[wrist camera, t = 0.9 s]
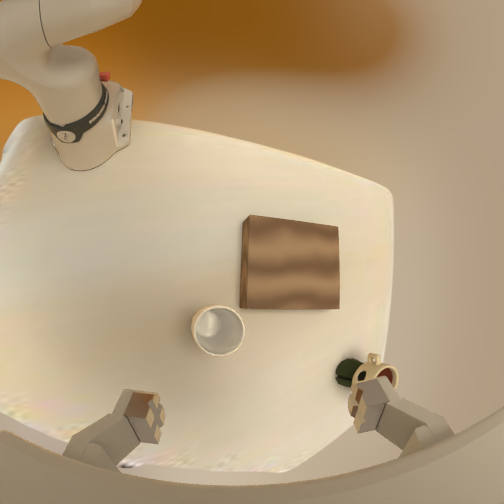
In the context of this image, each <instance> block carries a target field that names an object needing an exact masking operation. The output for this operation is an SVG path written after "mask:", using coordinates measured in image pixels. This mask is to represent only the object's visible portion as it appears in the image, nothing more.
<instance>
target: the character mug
mask: <svg viewBox="0 0 504 504" xmlns="http://www.w3.org/2000/svg"><path fill="white" fill-rule="evenodd" d="M373 358H374V359H375V362H374V361H373ZM336 374H338V375H340V378H341V379H339V378H337V381H338V383H339V384H341V385H343V386H346V387H351V386H352V383H353V382H358V381H362V380H367V379H372V378H376V377H381V376H386V377H387V378H388V380H389V381H390V383H391V384H392V386H393V388H394V389H395V390H396V388H397V385H398V379H399V375H398V371H397V370H396V368H395V367H393V366H391V365H389V364H384V363H381V358H380V355H378V354H373V353H369V354H368V362H366V363H362V362H360V361H358V360H355V359H347V360H345V361H343V362H342V363H341V364H340V365H339V366H338V369H337V372H336Z"/></svg>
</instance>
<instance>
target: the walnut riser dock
mask: <svg viewBox="0 0 504 504" xmlns="http://www.w3.org/2000/svg"><path fill="white" fill-rule="evenodd" d="M339 300H340V274H339V236H338V227H336V226H330V225H323V224H316V223H309V222H301V221H294V220H287V219H279V218H271V217H263V216H255V215H249V216H248V218H247V219H246V220H245V221H244V222H243V233H242V258H241V285H240V308H252V309H339Z"/></svg>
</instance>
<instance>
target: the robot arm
mask: <svg viewBox="0 0 504 504" xmlns="http://www.w3.org/2000/svg"><path fill="white" fill-rule="evenodd" d="M141 2H142V0H3V1H1V2H0V79H5V80H9V81H12V82H15V83H17V84H19V85H21V86H23V87H24V88H26V89H27V90H28V91H30V92H31V93H32V95H33V96H34V97H35V99H36V100H37V102H38V104H39V105H40V107H41V109H42V110H43V115H44V119H45V122H46V125H48V128H49V131H50V133H51V136H52V140H51V142H52V145H53V146H54V147H55V148H56V149H57V150H58V153H59V156H60V159H61V161H62V162H63V164H64V165H65V166H67V167H68V168H70V169H73V170H88V169H92V168H95V167H97V166H99V165H101V164H102V163H104V162H105V161H106V160H107V159H109V158H110V157H111V156H112V155H113V154H114V153H115V152H116V151H118V150H120V149H122V148H124V147H126V146H127V145H128V144H129V143H130V132H131V117H132V104H133V93H132V92H131V91H130V90H128V89H125V88H122V87H121V85H120V84H119V83H117V82H113V81H109V78H110V72H100V73H99V70H98V65H97V61H96V58H95V56H94V55H93V54H92V53H91V52H89V51H88V50H86V49H85V48H83V47H79V46H68V45H61V43H64V42H66V41H69V40H72V39H75V38H77V37H80V36H83V35H86V34H89V33H92V32H96V31H99V30H101V29H103V28H105V27H108V26H110V25H112V24H115V23H117V22H119V21H121V20H123V19H126V18H128V17H130V16H131V15H132V14H133V13H134V12H135V11H136V10H137V8H138V7H139V5H140V4H141ZM123 136H125V137H123ZM351 391H352V393H351V394H350V395H349V398H348V409H349V413H350V415H351V416H352V417H354V418H355V419H354V422H353V423H354V425H355V428H356V430H357V433H363V432H367V431H372V430H376V431H377V432H379V433H380V434H381V435H382V436H384V437H385V438H386V439H388V440H389V441H391V442H392V443H393V444H395V445H396V446H398V447H399V448H400V449H402V450H403V451H402V453H401V454H400V456H399V458H397V459H394V460H392V461H388V462H386V463H382V464H379V465H376V466H372V467H369V468H365V469H361V470H357V471H353V472H349V473H345V474H340V475H335V476H329V477H324V478H318V479H313V480H306V481H298V482H290V483H280V484H267V485H247V486H222V485H221V486H220V485H199V484H187V483H177V482H169V481H161V480H155V479H148V478H143V477H138V476H132V475H128V474H123V473H121V472H120V471H119V469H118V468H117V467H116V465H117V464H118V463H119V462H120V461H121V460H122V459H124V458H125V457H126V456H127V455H128V454H129V453H130V452H131V451H132V450H133V449H134V448H135V447H137V446H138V445H139V444H140V442H144V443H153V444H159V440H160V436H161V431H160V429H159V428H160V427H162V426H163V425H164V421H165V412H164V408H163V406H162V405H161V404H160V403H159V401H160V397H159V395H158V393H154V392H145V391H137V390H128V389H125V390H124V391H123V392H122V394H121V396H120V398H119V400H118V402H117V404H116V406H115V409H114V411H113V413H112V414H108V415H106V416H105V417H103V418H101V419H100V420H98V421H97V422H95V423H93V424H92V425H90V426H88V427H87V428H85V429H84V430H82V431H80V432H79V433H77V434H75V435H74V436H72V438H71V440H70V442H69V444H68V445H67V447H66V450H65V451H64V453H63V455H60V454H57V453H55V452H52V451H50V450H48V449H45V448H43V447H41V446H38V445H36V444H34V443H32V442H29V441H27V440H25V439H23V438H21V437H19V436H17V435H15V434H14V433H12V432H9V431H7V430H2V431H0V504H504V407H502V408H500V409H499V410H497V411H496V412H494V413H493V414H491V415H489V416H488V417H486V418H484V419H483V420H481V421H479V422H478V423H476V424H474V425H472V426H471V427H469V428H467V429H465V430H463V431H461V432H459V433H457V434H454V433H453V431H452V430H451V428H450V427H449V425H448V424H447V422H446V421H445V419H444V418H443V417H442V416H440V415H438V414H435V413H433V412H431V411H429V410H427V409H425V408H423V407H420V406H418V405H416V404H414V403H412V402H410V401H408V400H406V399H404V398H402V399H400V397H399V396H398V394H397V392H396V391H395V389H394V388H393V386H392V384H391V383H390V381H389V380H388V378H387V377H386V376H381V377H376V378H372V379H367V380H362V381H358V382H353V383H352V386H351Z"/></svg>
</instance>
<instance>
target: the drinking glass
mask: <svg viewBox="0 0 504 504" xmlns="http://www.w3.org/2000/svg"><path fill="white" fill-rule="evenodd" d="M191 332H192V336H193V339H194V341H195V342H196V344H197V345H198V346H199V347H200V348H201V349H202V350H203V351H204V352H205V353H207V354H209V355H212V356H218V357H221V356H227V355H230V354H232V353H233V352H235V351H236V350H237V349H238V348H239V347H240V346H241V344H242V342H243V340H244V337H245V325H244V322H243V320H242V318H241V316H240V315H239V314H238V313H237V312H236V311H235V310H233V309H231V308H229V307H227V306H223V305H209V306H206V307H204V308H202V309H200V310H199V311H197V312H196V313H195V314H194V316H193V318H192V324H191Z"/></svg>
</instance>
